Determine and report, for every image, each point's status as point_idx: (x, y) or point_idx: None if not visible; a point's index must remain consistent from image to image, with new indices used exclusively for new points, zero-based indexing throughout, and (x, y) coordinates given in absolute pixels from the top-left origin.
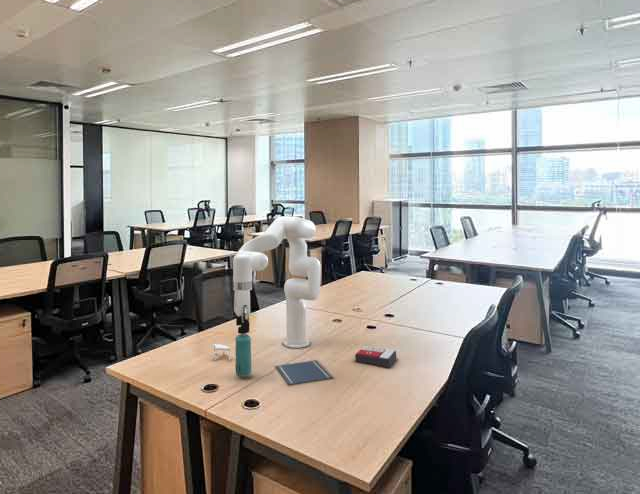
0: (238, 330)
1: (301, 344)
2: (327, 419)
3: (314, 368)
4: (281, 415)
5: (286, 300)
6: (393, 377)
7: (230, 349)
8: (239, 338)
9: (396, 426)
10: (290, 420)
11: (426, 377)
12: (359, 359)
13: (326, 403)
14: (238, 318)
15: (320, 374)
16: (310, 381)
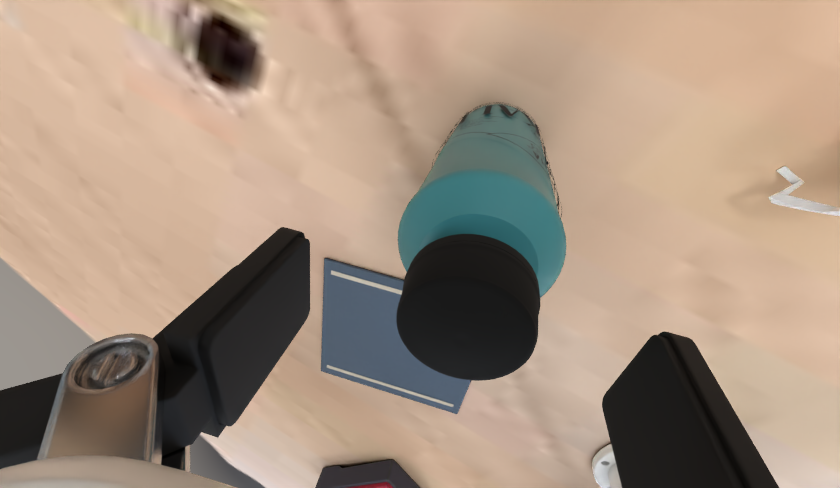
0: (469, 256)
1: (607, 468)
2: (101, 222)
3: (402, 378)
4: (124, 119)
5: None
6: (278, 442)
7: (835, 213)
8: (441, 204)
9: (77, 313)
10: (94, 129)
11: (260, 468)
12: (380, 468)
13: (184, 271)
14: (687, 463)
15: (353, 363)
16: (323, 318)
